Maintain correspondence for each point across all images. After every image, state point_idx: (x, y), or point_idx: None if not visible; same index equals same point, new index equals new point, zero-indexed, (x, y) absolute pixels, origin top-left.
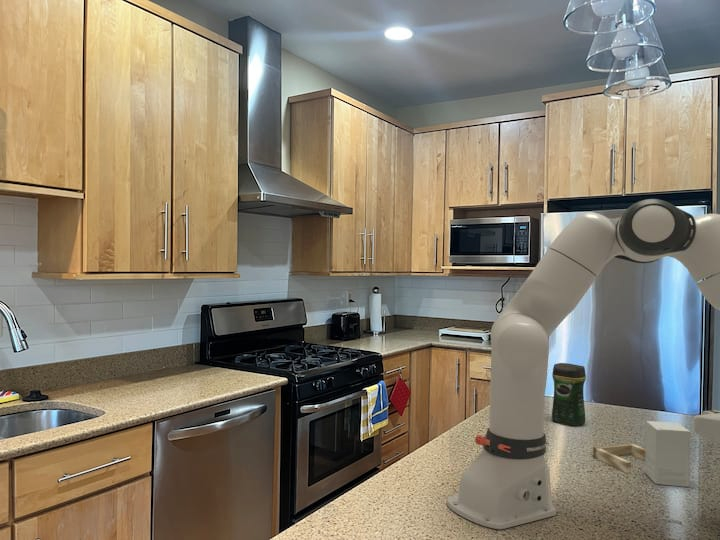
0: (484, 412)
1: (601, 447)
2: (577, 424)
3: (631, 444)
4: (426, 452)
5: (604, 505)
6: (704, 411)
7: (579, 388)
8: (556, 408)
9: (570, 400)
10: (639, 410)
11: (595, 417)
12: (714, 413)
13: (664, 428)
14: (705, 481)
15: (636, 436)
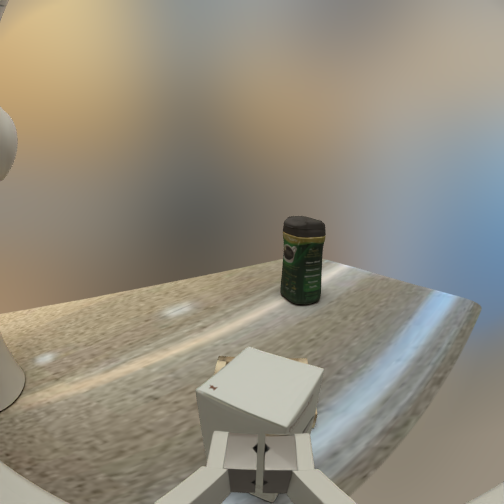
0: (223, 272)
1: (232, 359)
2: (300, 302)
3: (301, 361)
4: (60, 306)
5: (33, 460)
6: (212, 436)
7: (308, 253)
8: (282, 277)
9: (293, 269)
10: (415, 287)
11: (349, 293)
12: (203, 489)
13: (225, 391)
14: (341, 485)
15: (363, 333)
